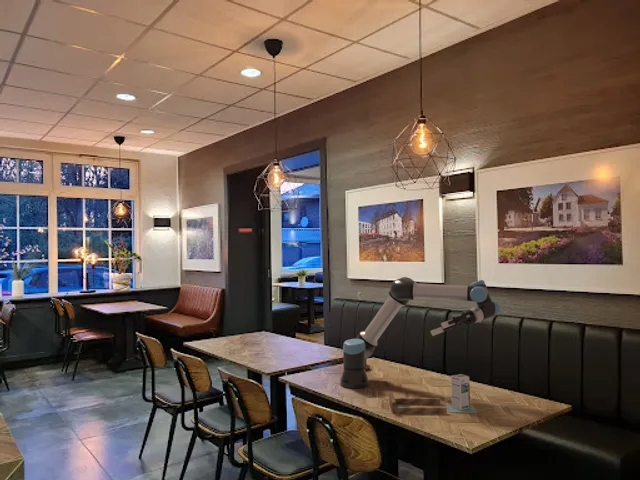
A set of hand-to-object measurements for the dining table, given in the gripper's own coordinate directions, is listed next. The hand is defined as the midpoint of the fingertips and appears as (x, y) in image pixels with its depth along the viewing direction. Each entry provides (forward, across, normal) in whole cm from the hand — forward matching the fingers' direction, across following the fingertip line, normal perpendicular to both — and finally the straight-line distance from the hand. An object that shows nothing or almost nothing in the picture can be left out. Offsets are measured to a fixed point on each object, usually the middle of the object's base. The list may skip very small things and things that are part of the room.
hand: (436, 329), depth 244 cm
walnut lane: (+27, -2, -29) cm, 40 cm away
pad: (+9, -6, -37) cm, 39 cm away
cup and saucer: (+22, +70, +2) cm, 73 cm away
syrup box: (+9, -6, -37) cm, 38 cm away
